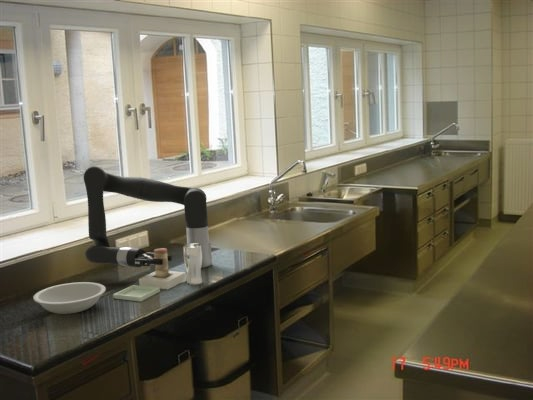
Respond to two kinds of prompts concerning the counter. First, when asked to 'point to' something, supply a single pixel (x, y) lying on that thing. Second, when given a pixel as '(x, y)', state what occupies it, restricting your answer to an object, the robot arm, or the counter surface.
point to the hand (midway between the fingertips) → (167, 260)
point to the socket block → (163, 280)
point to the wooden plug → (163, 269)
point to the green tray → (136, 293)
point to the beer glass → (193, 263)
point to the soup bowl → (69, 297)
